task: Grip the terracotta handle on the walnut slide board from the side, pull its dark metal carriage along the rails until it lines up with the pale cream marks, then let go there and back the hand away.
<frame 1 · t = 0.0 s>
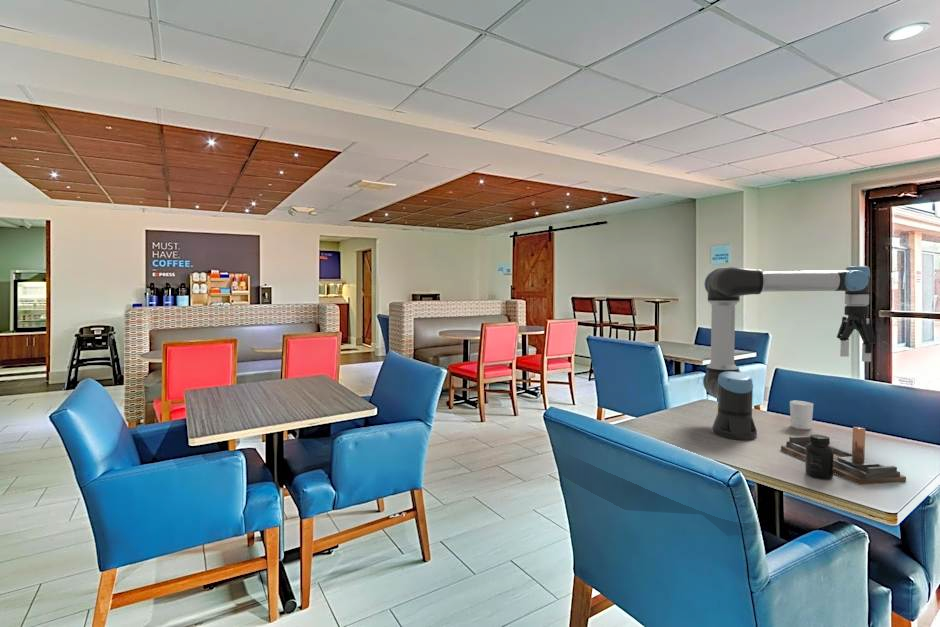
hand: (855, 358, 191), 28 cm above the table, tool pointing down, fingers open, 13 cm apart
supplement bottle: (818, 476, 146), on the table
white cup: (800, 427, 195), on the table
slide board: (837, 464, 154), on the table
carriage: (858, 447, 147), point 8 cm above the table, slide at 0.0 cm
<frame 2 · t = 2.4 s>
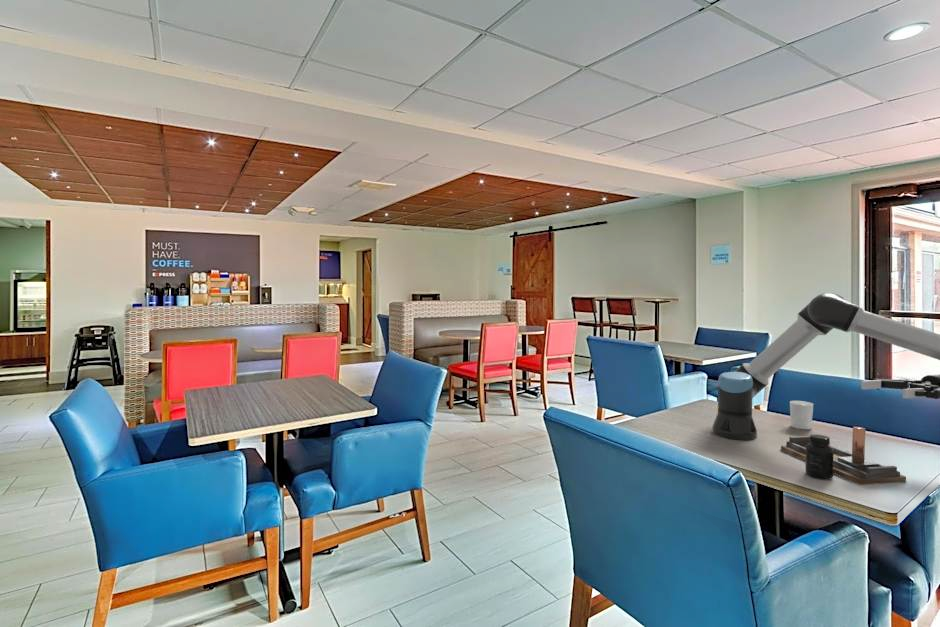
hand: (882, 389, 153), 24 cm above the table, tool horizontal, fingers open, 13 cm apart
nothing on the table moved.
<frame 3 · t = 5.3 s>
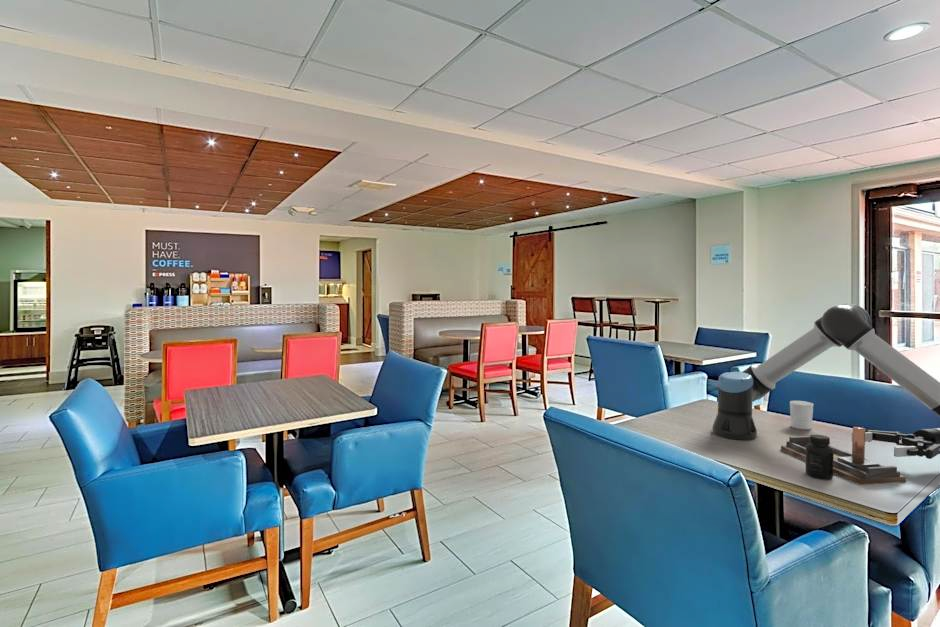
hand: (872, 444, 147), 9 cm above the table, tool horizontal, fingers open, 13 cm apart
nothing on the table moved.
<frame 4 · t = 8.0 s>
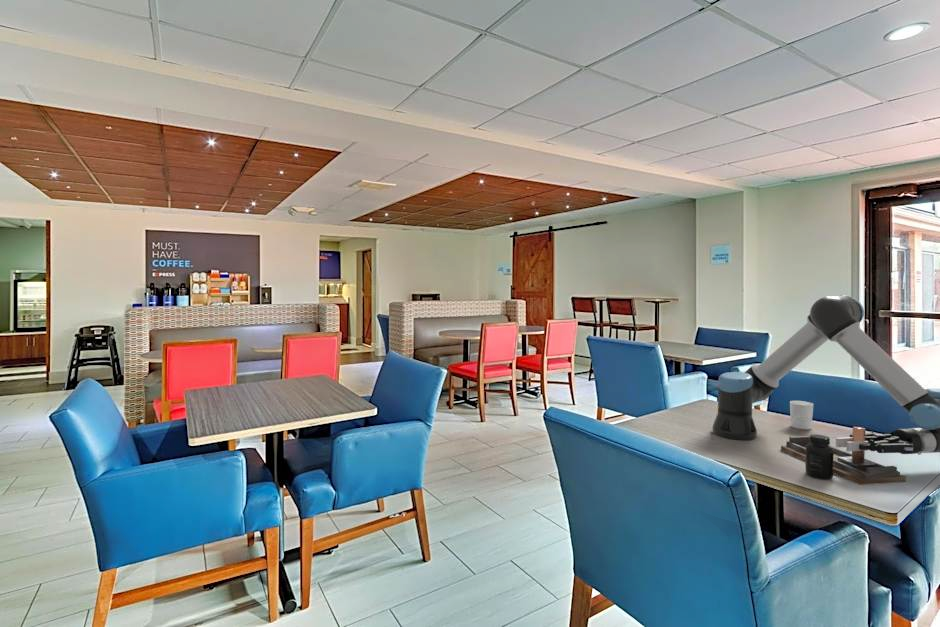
hand: (842, 444, 146), 9 cm above the table, tool horizontal, fingers closed on carriage, 3 cm apart
carriage: (858, 447, 147), point 8 cm above the table, slide at 0.0 cm, touching gripper
everything else where it was.
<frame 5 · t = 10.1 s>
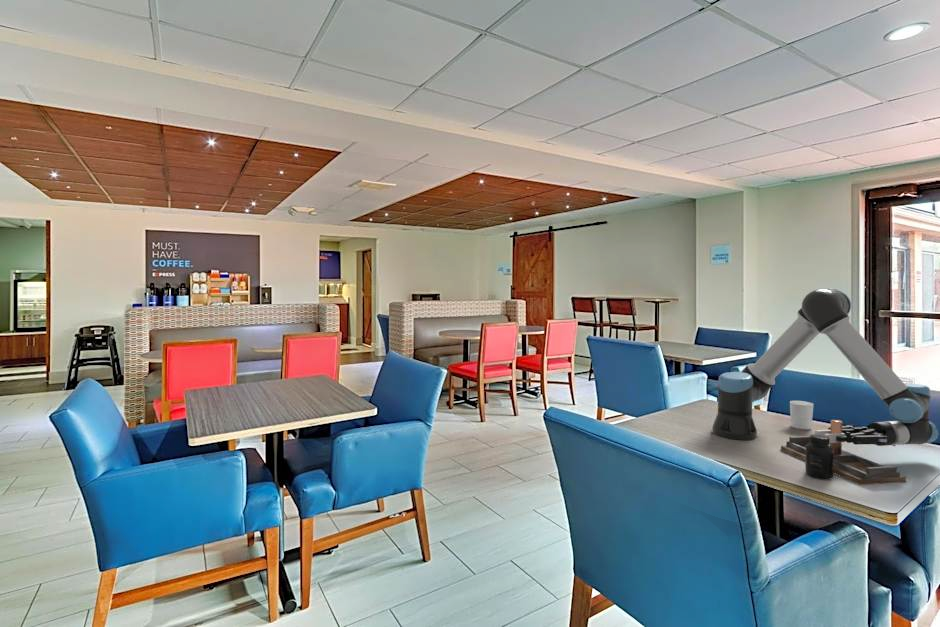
hand: (820, 436, 154), 9 cm above the table, tool horizontal, fingers closed on carriage, 3 cm apart
carriage: (835, 439, 155), point 8 cm above the table, slide at 7.9 cm, touching gripper
everything else where it was.
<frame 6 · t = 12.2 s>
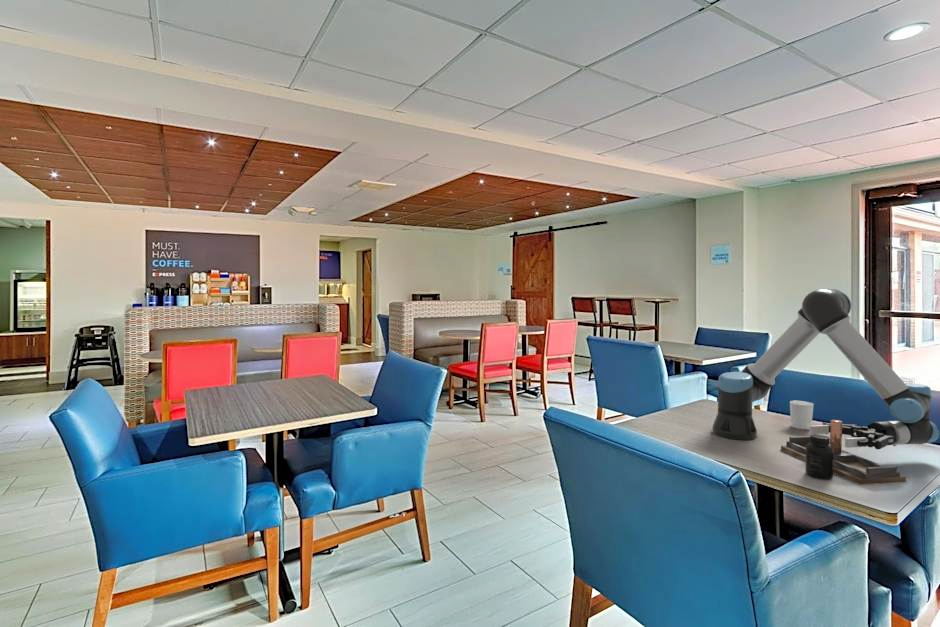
hand: (827, 436, 155), 9 cm above the table, tool horizontal, fingers open, 13 cm apart
carriage: (835, 439, 155), point 8 cm above the table, slide at 8.0 cm
everything else where it was.
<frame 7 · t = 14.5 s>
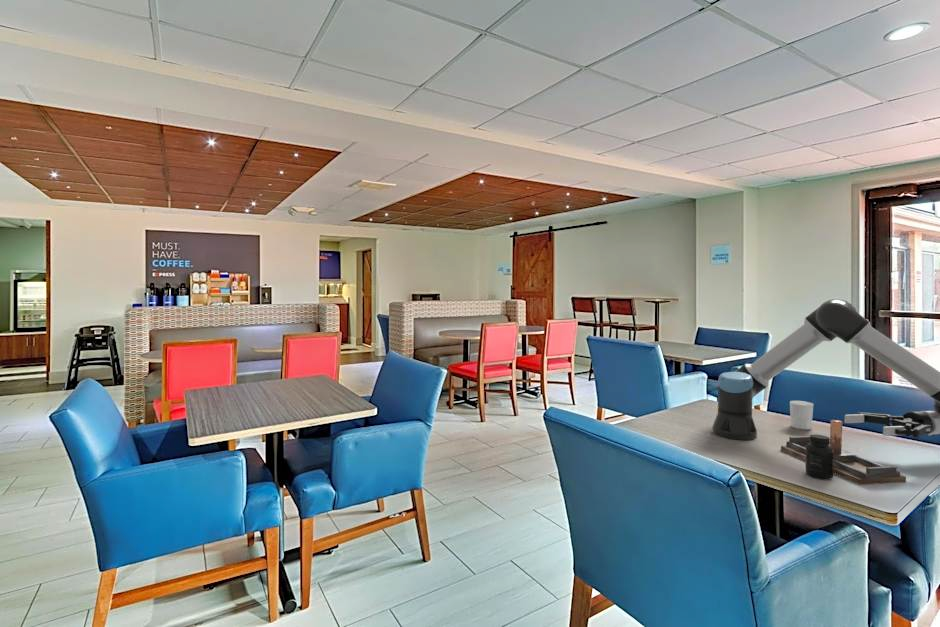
hand: (863, 424, 156), 12 cm above the table, tool horizontal, fingers open, 13 cm apart
nothing on the table moved.
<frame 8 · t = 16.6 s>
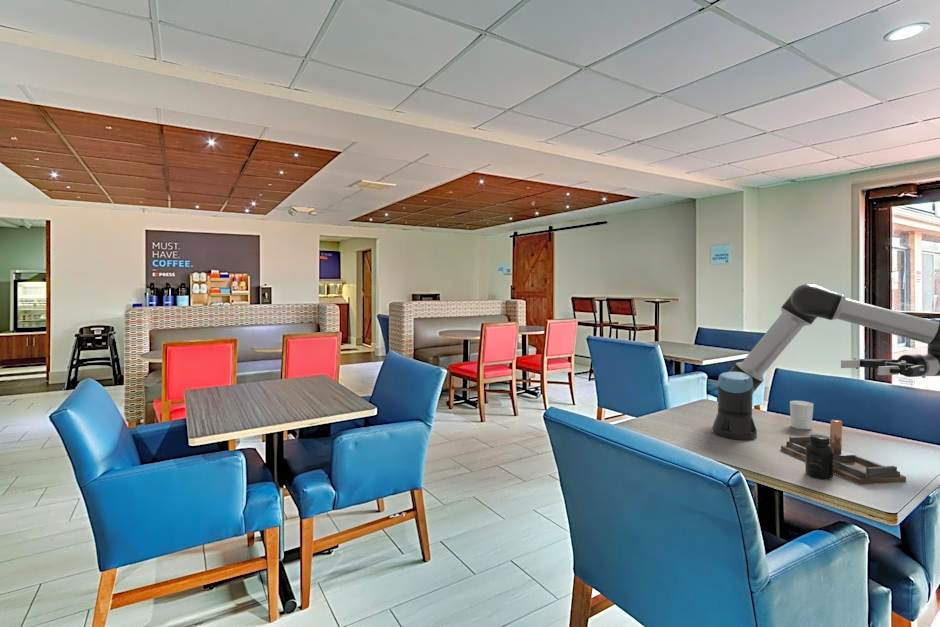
hand: (859, 367, 160), 30 cm above the table, tool horizontal, fingers open, 13 cm apart
nothing on the table moved.
at the end: carriage slide at 8.0 cm; the gripper is holding nothing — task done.
